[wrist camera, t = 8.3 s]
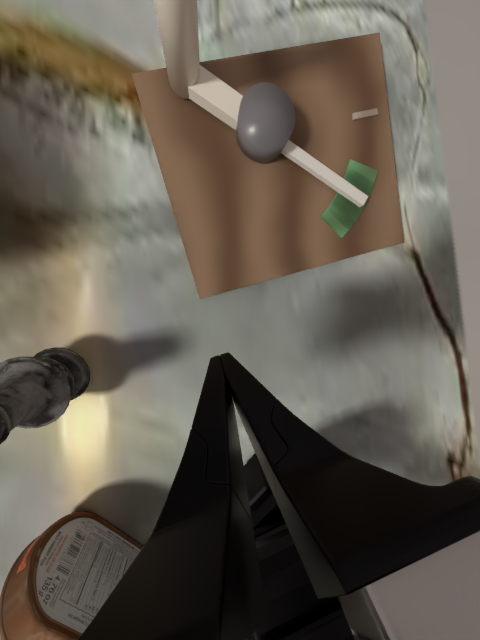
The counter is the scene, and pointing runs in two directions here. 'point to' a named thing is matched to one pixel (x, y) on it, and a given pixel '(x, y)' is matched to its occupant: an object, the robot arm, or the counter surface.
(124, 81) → the counter surface
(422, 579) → the robot arm
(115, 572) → the tin
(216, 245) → the dial plate
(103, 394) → the counter surface
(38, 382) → the salt shaker
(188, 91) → the crank handle
